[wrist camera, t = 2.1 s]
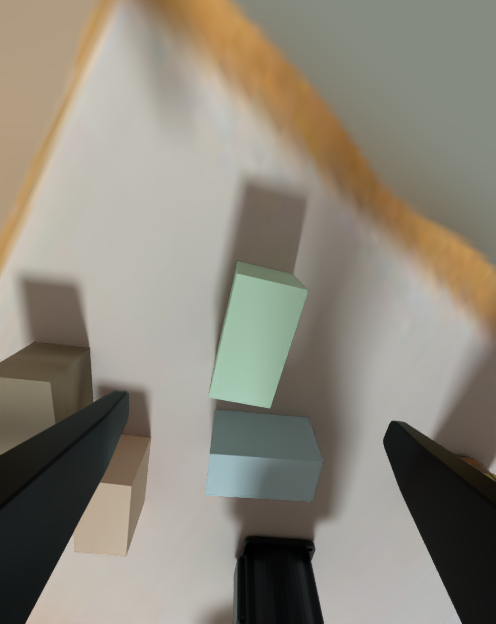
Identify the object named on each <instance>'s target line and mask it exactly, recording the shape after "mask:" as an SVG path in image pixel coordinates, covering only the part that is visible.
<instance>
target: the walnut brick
mask: <svg viewBox="0 0 496 624" xmlns="http://www.w3.org/2000/svg"><path fill="white" fill-rule="evenodd" d="M92 403H93V390H92V375H91V359H90V348H84V347H75V346H65V345H56V344H47V343H37V342H34V343H32V344H30V345H29V346H27V347H25V348H24V349H22V350H20V351H19V352H17V353H15V354H14V355H12V356H10V357H9V358H7V359H5V360H4V361H2V362H0V455H1V454H3V453H4V452H6V451H8V450H10V449H11V448H13V447H15V446H17V445H19V444H20V443H22V442H24V441H26V440H27V439H29V438H31V437H33V436H35V435H36V434H38V433H40V432H42V431H43V430H45V429H47V428H49V427H51V426H52V425H54V424H56V423H58V422H59V421H61V420H63V419H65V418H67V417H68V416H70V415H72V414H74V413H76V412H77V411H79V410H81V409H83V408H84V407H86V406H88V405H90V404H92Z"/></svg>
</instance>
